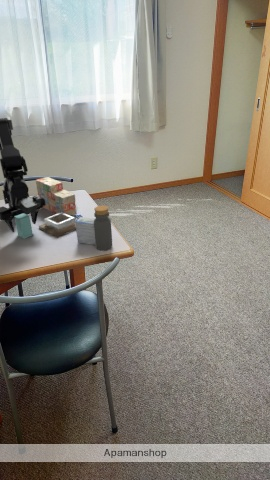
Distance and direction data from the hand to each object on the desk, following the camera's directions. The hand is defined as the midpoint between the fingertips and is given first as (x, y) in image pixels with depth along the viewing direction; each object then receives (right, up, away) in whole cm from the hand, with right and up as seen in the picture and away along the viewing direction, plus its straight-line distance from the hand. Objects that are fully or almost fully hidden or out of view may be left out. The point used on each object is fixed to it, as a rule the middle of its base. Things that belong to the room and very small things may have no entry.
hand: (24, 228), depth 135 cm
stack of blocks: (+8, +9, +23) cm, 26 cm away
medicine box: (+25, -5, -4) cm, 26 cm away
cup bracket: (+12, 0, +7) cm, 14 cm away
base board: (+12, 0, +7) cm, 14 cm away
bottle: (+31, -7, -8) cm, 33 cm away
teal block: (0, -3, +1) cm, 3 cm away
